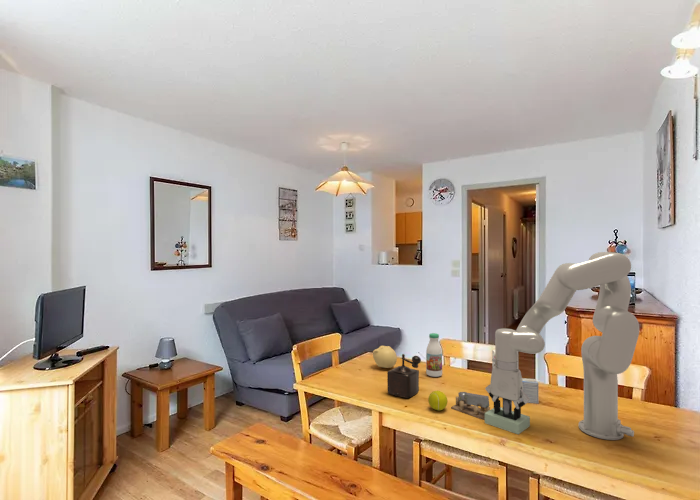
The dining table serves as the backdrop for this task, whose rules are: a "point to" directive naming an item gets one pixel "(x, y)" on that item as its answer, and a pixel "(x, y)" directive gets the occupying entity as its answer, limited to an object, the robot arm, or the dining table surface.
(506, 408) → the pin
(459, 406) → the peg rack
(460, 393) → the spanner bar
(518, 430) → the slot block
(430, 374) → the milk bottle
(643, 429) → the dining table surface
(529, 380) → the medicine box
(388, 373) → the manual coffee grinder
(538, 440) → the dining table surface
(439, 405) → the tennis ball
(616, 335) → the robot arm
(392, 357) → the beige rounded lump
